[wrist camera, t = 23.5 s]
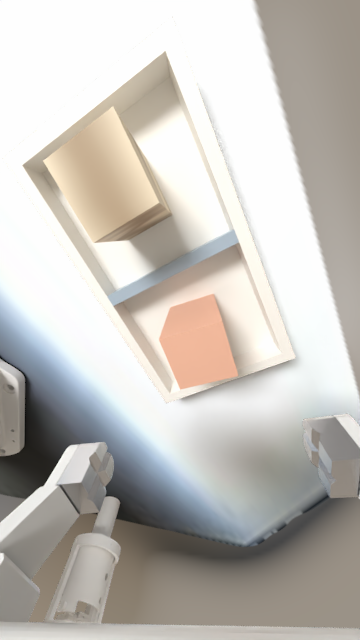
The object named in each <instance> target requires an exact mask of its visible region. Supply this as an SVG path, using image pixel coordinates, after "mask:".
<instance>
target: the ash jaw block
mask: <svg viewBox="0 0 360 640" xmlns="http://www.w3.org/2000/svg"><path fill="white" fill-rule="evenodd" d="M43 162H44V164H45V165H46V167H47V168H48V170H49V172H50V173H51V175H52V177H53V178H54V180H55V181H56V183H57V185H58V186H59V188H60V190H61V191H62V193H63V194H64V196H65V198H66V199H67V201H68V203H69V204H70V206H71V208H72V209H73V211H74V212H75V214H76V216H77V217H78V219H79V221H80V222H81V224H82V225H83V227H84V229H85V230H86V232H87V234H88V235H89V237H90V238H91V240H92V242H93V243H99V242H113V241H127V240H130V239H132V238H134V237H135V236H137V235H139V234H140V233H142V232H144V231H145V230H147V229H149V228H151V227H152V226H154V225H156V224H157V223H159V222H161V221H163V220H164V219H166V218H168V217H169V216H171V215H173V214H172V212H171V210H170V208H169V206H168V204H167V202H166V200H165V197H164V195H163V193H162V191H161V189H160V187H159V185H158V182H157V180H156V178H155V176H154V174H153V172H152V170H151V168H150V165H149V163H148V161H147V159H146V157H145V155H144V154H143V152H142V151H141V149H140V148H139V146H138V144H137V143H136V141H135V140H134V138H133V137H132V135H131V133H130V132H129V130H128V129H127V127H126V126H125V124H124V122H123V121H122V119H121V118H120V116H119V115H118V113H117V111H116V110H115V108H114V107H111V108H110V109H109V110H108V111H106V112H105V113H104V114H102V115H101V116H100V117H99V118H97V119H96V120H95V121H93V122H92V123H91V124H90V125H88V126H87V127H86V128H84V129H83V130H82V131H81V132H79V133H78V134H77V135H75V136H74V137H73V138H72V139H70V140H69V141H68V142H66V143H65V144H64V145H63V146H61V147H60V148H59V149H58V150H56V151H55V152H54V153H52V154H51V155H50V156H49V157H47V158H46V159H45V160H43Z"/></svg>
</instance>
